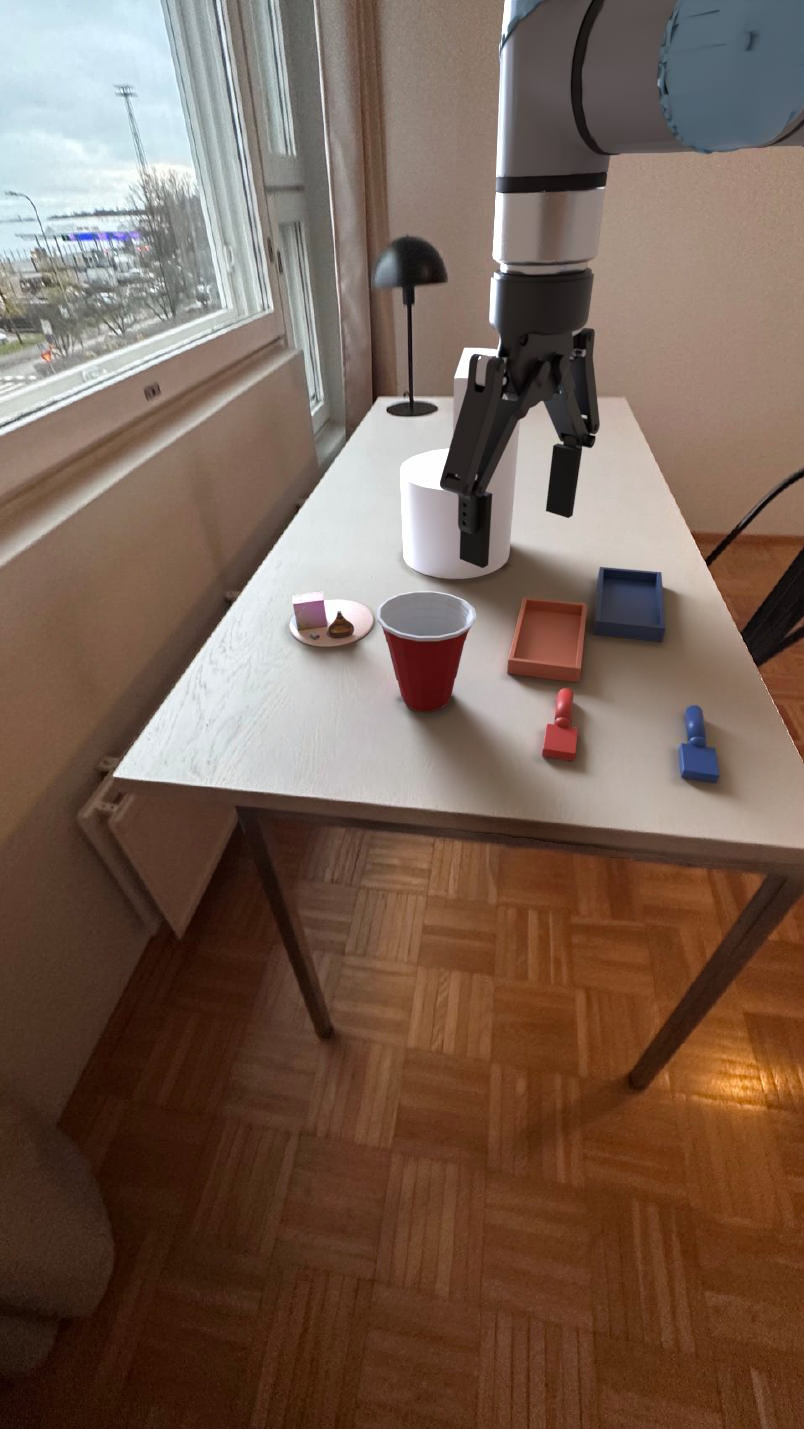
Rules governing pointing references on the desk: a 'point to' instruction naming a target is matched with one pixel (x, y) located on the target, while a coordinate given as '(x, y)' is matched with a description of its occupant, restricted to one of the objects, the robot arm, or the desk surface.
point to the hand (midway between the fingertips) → (518, 536)
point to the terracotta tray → (548, 640)
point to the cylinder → (453, 503)
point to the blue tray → (629, 604)
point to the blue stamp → (697, 750)
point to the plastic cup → (425, 644)
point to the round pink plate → (328, 620)
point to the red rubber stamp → (561, 730)
